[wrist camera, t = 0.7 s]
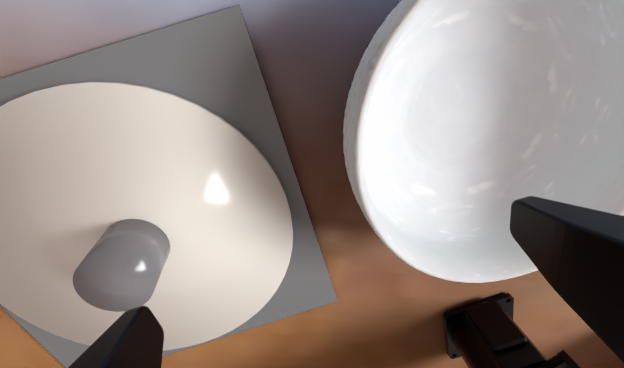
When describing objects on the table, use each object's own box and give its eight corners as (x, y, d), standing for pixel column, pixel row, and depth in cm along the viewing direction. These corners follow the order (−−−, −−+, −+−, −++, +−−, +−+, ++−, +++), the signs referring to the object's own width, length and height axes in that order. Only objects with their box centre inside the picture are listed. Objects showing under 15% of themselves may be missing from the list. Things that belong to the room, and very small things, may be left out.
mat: (336, 297, 26) (337, 301, 26) (83, 377, 26) (81, 382, 26) (239, 5, 16) (238, 4, 16) (-172, 132, 16) (-181, 135, 16)
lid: (323, 296, 26) (333, 343, 22) (85, 371, 26) (54, 431, 22) (227, 31, 17) (216, 32, 13) (-143, 146, 16) (-265, 182, 13)
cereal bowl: (613, 96, 22) (753, 123, 16) (431, 253, 26) (485, 325, 20) (486, -138, 15) (642, -253, 9) (268, 121, 19) (271, 166, 13)
